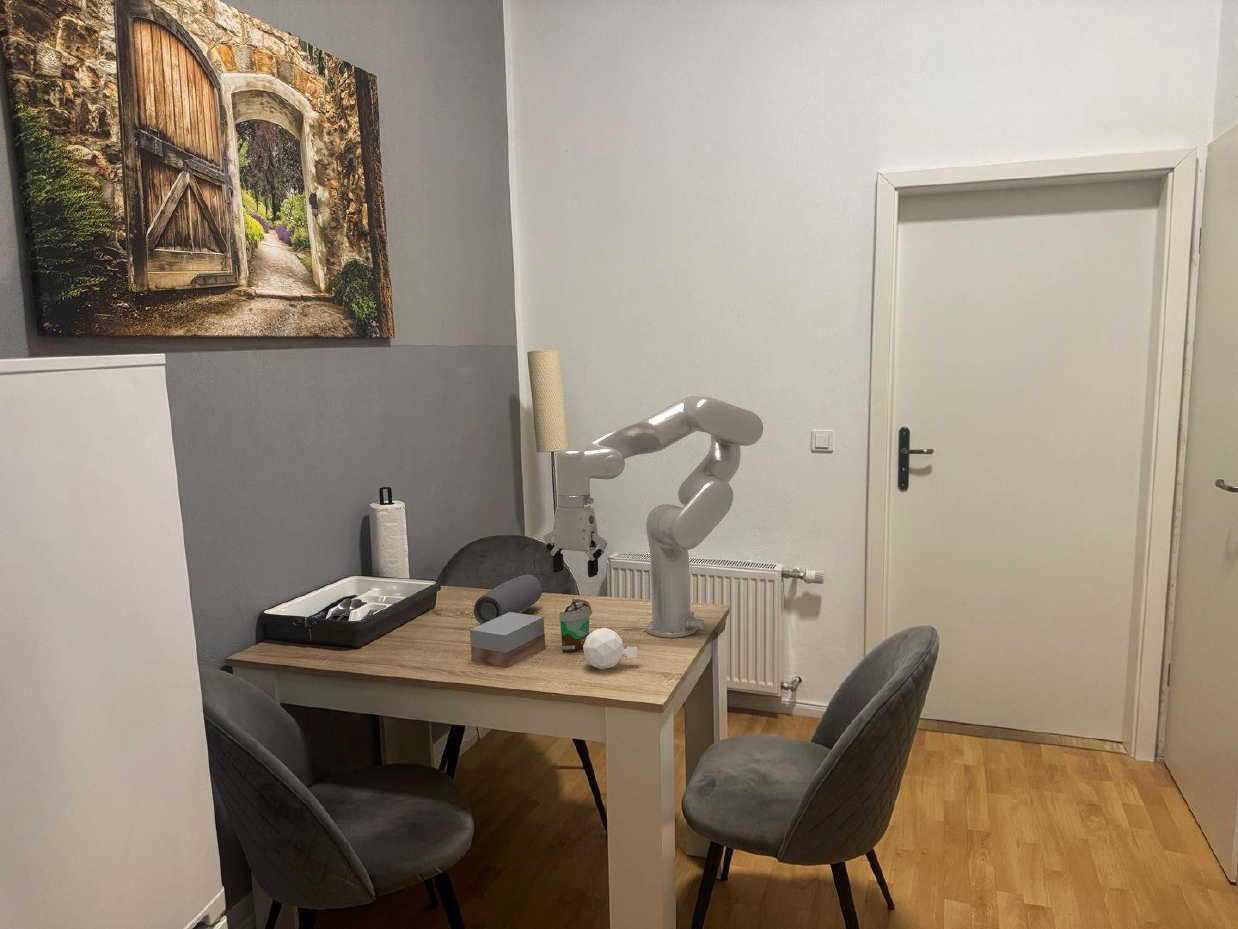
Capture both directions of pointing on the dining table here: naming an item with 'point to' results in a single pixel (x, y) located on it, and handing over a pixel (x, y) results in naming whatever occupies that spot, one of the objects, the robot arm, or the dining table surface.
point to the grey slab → (507, 632)
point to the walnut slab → (508, 653)
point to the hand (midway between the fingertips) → (575, 573)
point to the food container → (575, 625)
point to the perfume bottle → (606, 648)
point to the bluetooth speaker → (508, 598)
